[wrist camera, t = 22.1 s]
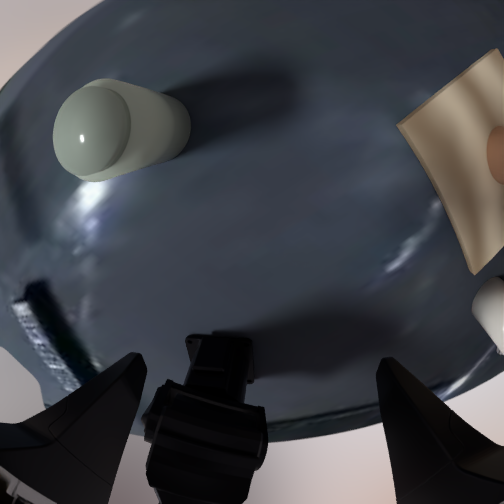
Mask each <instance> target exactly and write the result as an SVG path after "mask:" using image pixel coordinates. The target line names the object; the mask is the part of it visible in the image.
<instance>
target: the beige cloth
mask: <svg viewBox="0 0 504 504" xmlns="http://www.w3.org/2000/svg"><path fill="white" fill-rule="evenodd" d="M396 126H397V127H398V129H399V130H400V132H401V133H402V135H403V136H404V138H405V139H406V141H407V142H408V144H409V145H410V147H411V148H412V150H413V152H414V153H415V155H416V156H417V158H418V160H419V161H420V163H421V165H422V167H423V168H424V170H425V172H426V174H427V175H428V177H429V179H430V181H431V183H432V185H433V186H434V188H435V190H436V192H437V194H438V196H439V198H440V200H441V202H442V204H443V206H444V208H445V211H446V213H447V215H448V217H449V219H450V221H451V224H452V226H453V228H454V231H455V233H456V235H457V238H458V240H459V243H460V245H461V248H462V251H463V253H464V256H465V259H466V262H467V264H468V267H469V270H470V271H471V272H472V273H473V274H474V275H475V274H477V273H478V272H479V271H480V270H481V269H482V268H483V267H484V266H485V265H486V264H487V263H488V262H489V261H490V260H491V259H492V258H493V257H494V256H495V255H496V254H497V253H498V251H499V250H500V249H501V248H502V247H503V246H504V185H502V184H500V183H498V182H497V181H496V180H495V179H494V178H493V176H492V174H491V172H490V170H489V166H488V162H487V142H488V138H489V135H490V133H491V131H492V130H493V129H494V128H495V127H497V126H504V59H503V57H502V56H501V54H500V52H499V51H498V49H492V50H490V51H489V52H488V53H486V54H485V55H484V56H483V57H481V58H480V59H479V60H477V61H476V62H475V63H474V64H472V65H471V66H470V67H468V68H467V69H466V70H465V71H463V72H462V73H461V74H460V75H458V76H457V77H456V78H454V79H453V80H452V81H451V82H449V83H448V84H447V85H446V86H444V87H443V88H442V89H441V90H439V91H438V92H437V93H435V94H434V95H433V96H432V97H430V98H429V99H428V100H427V101H425V102H424V103H423V104H422V105H420V106H419V107H418V108H417V109H415V110H414V111H413V112H412V113H410V114H409V115H408V116H407V117H405V118H404V119H403V120H402V121H400V122H399V123H398V124H397V125H396Z"/></svg>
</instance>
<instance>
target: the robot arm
mask: <svg viewBox="0 0 504 504" xmlns="http://www.w3.org/2000/svg"><path fill="white" fill-rule="evenodd" d="M190 340H191V341H190ZM185 343H186V347H187V350H188V354H189V358H190V362H191V364H190V367H189V370H188V373H187V376H186V379H185V381H184V384H183V385H181V384H178V383H175V382H173V381H172V380H170V379H167V381H166V383H165V385H162V386H161V387H158V389H157V391H156V393H155V396H154V398H153V400H152V402H151V404H150V405H149V406H148V408H147V409H146V411H145V412H144V414H143V415H142V418H141V422H142V423H143V425H144V427H145V429H144V433H145V436H144V441H146V442H149V443H152V445H151V448H150V451H149V455H148V458H147V462H146V470H147V471H146V476H147V480H148V483H149V485H150V487H153V488H154V490H155V493H156V495H157V497H158V500H159V504H242V503H243V502H244V501H245V500H246V499H247V497H248V493H249V488H250V484H251V480H252V477H253V474H254V471H256V470H258V469H259V468H260V467H261V466H262V464H263V462H264V459H265V456H266V453H267V448H268V432H267V424H266V416H265V409H264V407H261V406H258V407H257V406H253V405H249V404H245V403H244V400H245V393H246V385H247V384H252V383H254V365H253V349H252V341H251V340H250V339H248V338H225V337H206V336H187V337H186V339H185ZM245 343H248V344H245ZM146 375H147V367H146V364H145V362H144V359H143V357H142V355H141V354H140V353H135V352H130V353H129V354H127V355H126V356H124V357H123V358H122V359H120V360H119V361H117V362H116V363H114V364H113V365H112V366H110V367H109V368H107V369H106V370H104V371H103V372H101V373H100V374H98V375H97V376H96V377H94V378H93V379H91V380H90V381H88V382H87V383H85V384H84V385H83V386H81V387H80V388H78V389H77V390H75V391H74V392H72V393H71V394H69V395H68V396H66V397H65V398H63V399H62V400H60V401H59V402H57V403H56V404H54V405H53V406H51V407H49V408H47V409H46V410H44V411H42V412H40V413H38V414H36V415H35V416H33V417H31V418H29V419H27V420H25V421H23V422H20V423H16V424H10V423H0V504H108V502H109V498H110V494H111V491H112V487H113V484H114V480H115V477H116V474H117V470H118V467H119V464H120V461H121V457H122V454H123V451H124V448H125V445H126V442H127V439H128V436H129V433H130V430H131V427H132V424H133V421H134V419H135V416H136V413H137V410H138V407H139V404H140V400H141V396H142V392H143V387H144V383H145V379H146ZM376 382H377V389H378V398H379V406H380V413H381V418H382V423H383V427H384V432H385V436H386V441H387V446H388V451H389V457H390V462H391V468H392V474H393V480H394V487H395V494H396V501H397V504H504V446H501V445H498V444H496V443H494V442H493V441H491V440H490V439H488V438H487V437H485V436H484V435H483V434H481V433H480V432H479V431H477V430H476V429H474V428H473V427H472V426H471V425H469V424H468V423H467V422H465V421H464V420H463V419H462V418H461V417H459V416H458V415H457V414H456V413H455V412H454V411H453V410H451V409H450V408H449V407H448V406H447V405H446V404H445V403H444V402H443V401H442V400H440V399H439V398H438V397H437V396H436V395H435V394H434V393H433V392H432V391H430V390H429V389H428V388H427V387H426V386H425V385H424V384H423V383H421V382H420V381H419V380H418V379H417V378H416V377H415V376H414V375H413V374H411V373H410V372H409V371H408V370H407V369H406V368H405V367H403V366H402V365H401V364H400V363H399V362H398V361H397V360H396V359H394V358H393V357H386V358H382V359H381V361H380V364H379V367H378V370H377V372H376Z"/></svg>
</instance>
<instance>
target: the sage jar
mask: <svg viewBox="0 0 504 504" xmlns="http://www.w3.org/2000/svg"><path fill="white" fill-rule="evenodd" d="M190 132H191V120H190V116H189V113H188V111H187V109H186V107H185V106H184V105H183V104H182V103H181V102H180V101H179V100H177V99H176V98H174V97H171V96H168V95H165V94H162V93H159V92H156V91H153V90H149V89H146V88H143V87H139V86H136V85H132V84H129V83H125V82H121V81H117V80H113V79H99V80H95V81H92V82H90V83H88V84H87V85H85V86H83V87H82V88H81V89H79V90H77V91H76V92H74V93H73V94H72V95H70V96H69V97H68V98H67V100H66V101H65V102H64V103H63V105H62V107H61V108H60V110H59V112H58V115H57V117H56V120H55V124H54V130H53V143H54V149H55V153H56V156H57V158H58V160H59V162H60V163H61V165H62V166H63V167H64V168H65V169H66V170H67V171H68V172H70V173H72V174H74V175H76V176H77V177H79V178H80V179H83V180H85V181H89V182H101V181H105V180H108V179H111V178H114V177H117V176H120V175H123V174H126V173H129V172H132V171H136V170H139V169H142V168H146V167H149V166H153V165H156V164H160V163H164V162H167V161H169V160H171V159H173V158H174V157H176V156H177V155H178V154H179V153H180V152H181V151H182V150H183V149H184V147H185V146H186V144H187V142H188V139H189V136H190Z"/></svg>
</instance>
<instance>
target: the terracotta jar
mask: <svg viewBox="0 0 504 504" xmlns="http://www.w3.org/2000/svg"><path fill="white" fill-rule="evenodd" d="M487 162H488V166H489V170H490V172H491V174H492V176H493V178H494V179H495V180H496V181H497V182H498V183H500V184H502V185H504V126H497V127H495V128H494V129H493V130H492V131H491V133H490V135H489V138H488V142H487Z"/></svg>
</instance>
